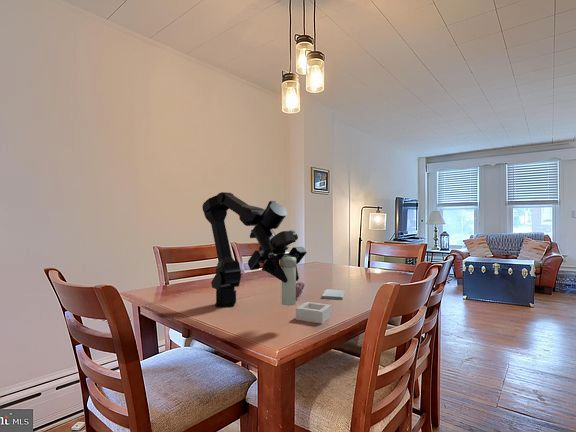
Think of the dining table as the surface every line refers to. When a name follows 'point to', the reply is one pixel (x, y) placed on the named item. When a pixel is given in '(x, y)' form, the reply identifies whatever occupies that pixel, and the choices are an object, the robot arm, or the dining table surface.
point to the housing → (314, 312)
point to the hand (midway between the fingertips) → (292, 281)
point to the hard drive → (333, 294)
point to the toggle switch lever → (289, 281)
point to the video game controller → (299, 288)
